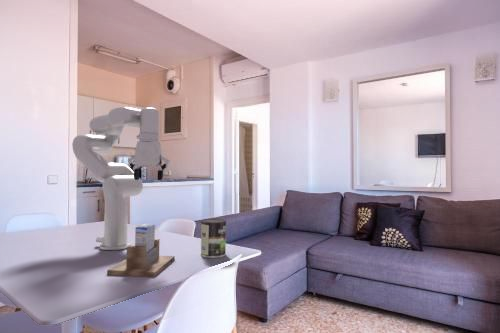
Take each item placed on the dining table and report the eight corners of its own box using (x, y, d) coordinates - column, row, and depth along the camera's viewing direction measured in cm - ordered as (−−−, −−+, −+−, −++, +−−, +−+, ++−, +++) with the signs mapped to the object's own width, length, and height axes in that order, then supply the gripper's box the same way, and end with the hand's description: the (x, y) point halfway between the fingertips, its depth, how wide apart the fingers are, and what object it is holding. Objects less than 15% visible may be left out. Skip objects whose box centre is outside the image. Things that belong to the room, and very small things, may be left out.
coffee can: (229, 253, 136) (230, 219, 136) (219, 259, 126) (219, 223, 126) (207, 250, 140) (208, 218, 140) (195, 256, 130) (196, 221, 130)
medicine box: (142, 247, 119) (143, 223, 119) (154, 247, 119) (155, 223, 119) (134, 252, 111) (135, 227, 111) (147, 252, 111) (147, 227, 111)
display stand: (107, 274, 106) (107, 248, 106) (134, 258, 125) (134, 236, 126) (154, 276, 104) (155, 250, 104) (174, 260, 124) (175, 237, 124)
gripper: (124, 137, 130) (123, 179, 130) (166, 137, 129) (165, 180, 128) (133, 139, 138) (132, 179, 137) (172, 139, 136) (171, 180, 136)
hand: (148, 179), depth 133 cm, fingers open, 9 cm apart
